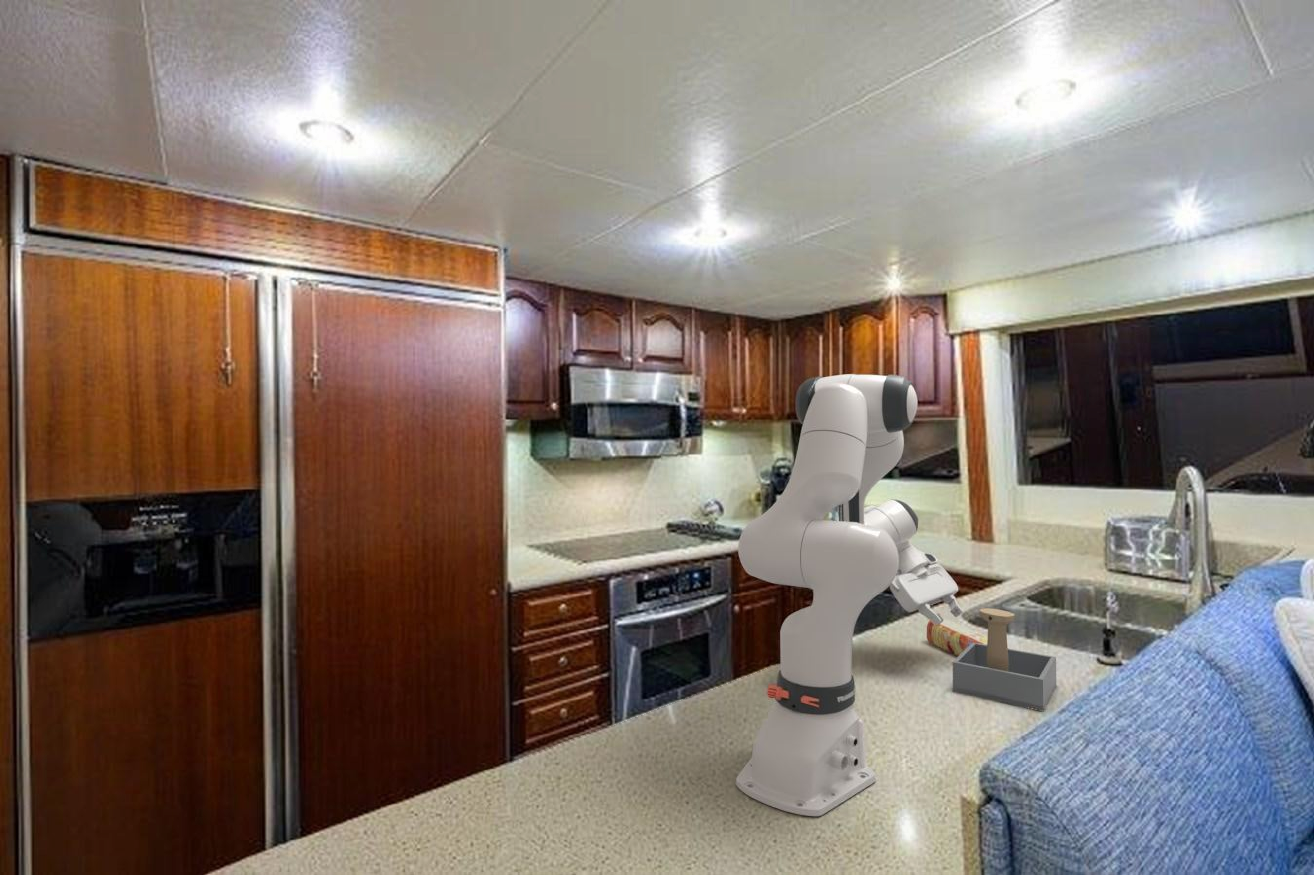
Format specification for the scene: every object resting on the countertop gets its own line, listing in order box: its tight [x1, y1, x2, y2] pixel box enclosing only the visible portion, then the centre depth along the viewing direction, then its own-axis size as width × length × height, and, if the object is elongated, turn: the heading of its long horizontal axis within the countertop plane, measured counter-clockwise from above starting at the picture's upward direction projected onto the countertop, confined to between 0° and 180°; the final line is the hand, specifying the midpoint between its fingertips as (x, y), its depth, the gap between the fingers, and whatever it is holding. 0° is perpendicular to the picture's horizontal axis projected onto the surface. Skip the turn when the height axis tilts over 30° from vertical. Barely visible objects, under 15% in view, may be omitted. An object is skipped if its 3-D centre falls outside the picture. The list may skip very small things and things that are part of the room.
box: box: [952, 642, 1057, 711], centre depth 133 cm, size 16×16×6 cm
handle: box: [979, 607, 1016, 671], centre depth 132 cm, size 5×6×15 cm
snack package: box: [926, 617, 988, 657], centre depth 153 cm, size 21×7×7 cm, turn 14°
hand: (950, 619), depth 142 cm, fingers open, 8 cm apart
